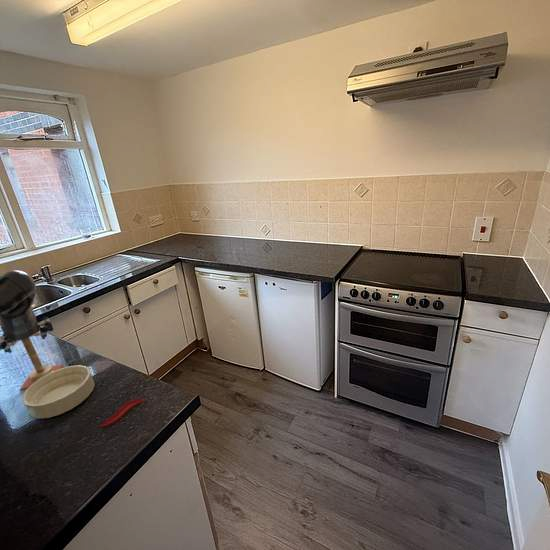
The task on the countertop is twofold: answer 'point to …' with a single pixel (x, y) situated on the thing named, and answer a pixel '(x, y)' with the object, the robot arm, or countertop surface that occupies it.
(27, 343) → the wooden pestle
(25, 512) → the countertop surface
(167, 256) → the countertop surface
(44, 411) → the bowl
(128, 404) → the cayenne pepper
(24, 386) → the spoon rest
